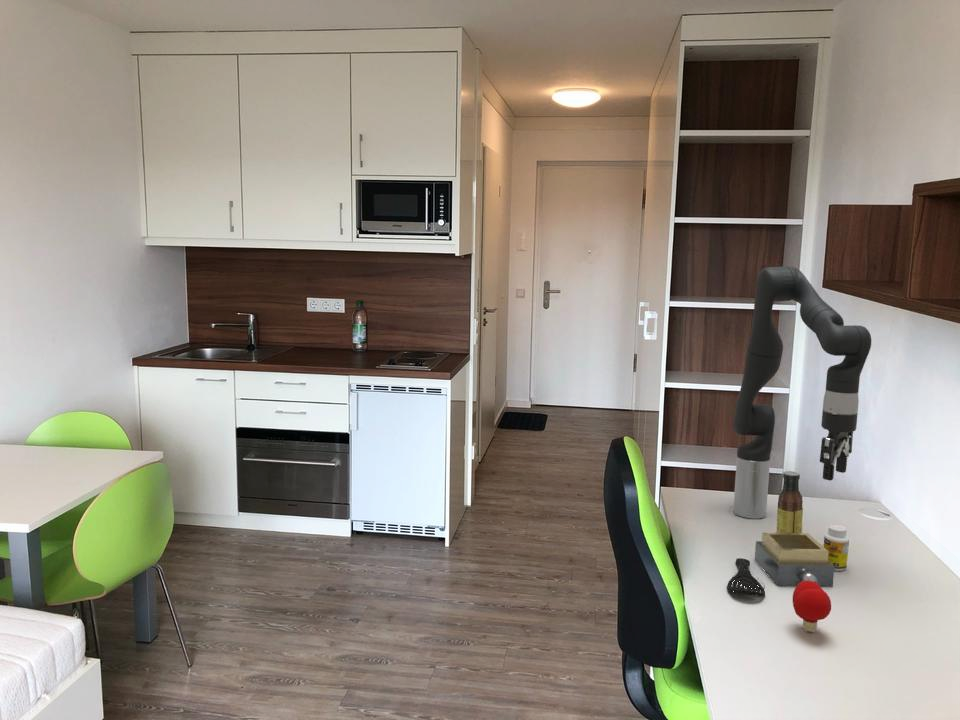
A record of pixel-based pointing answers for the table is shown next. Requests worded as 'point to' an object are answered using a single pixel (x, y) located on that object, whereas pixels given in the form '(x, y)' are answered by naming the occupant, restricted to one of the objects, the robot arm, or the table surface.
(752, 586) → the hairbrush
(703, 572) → the table surface
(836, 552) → the supplement bottle
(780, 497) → the sauce bottle
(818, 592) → the red toy tree
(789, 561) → the drawer with knob
